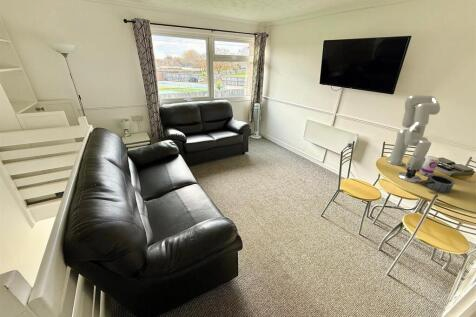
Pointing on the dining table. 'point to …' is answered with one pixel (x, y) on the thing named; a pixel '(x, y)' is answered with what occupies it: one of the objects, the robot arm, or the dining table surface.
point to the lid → (409, 179)
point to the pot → (438, 183)
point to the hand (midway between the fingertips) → (409, 176)
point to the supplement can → (429, 165)
